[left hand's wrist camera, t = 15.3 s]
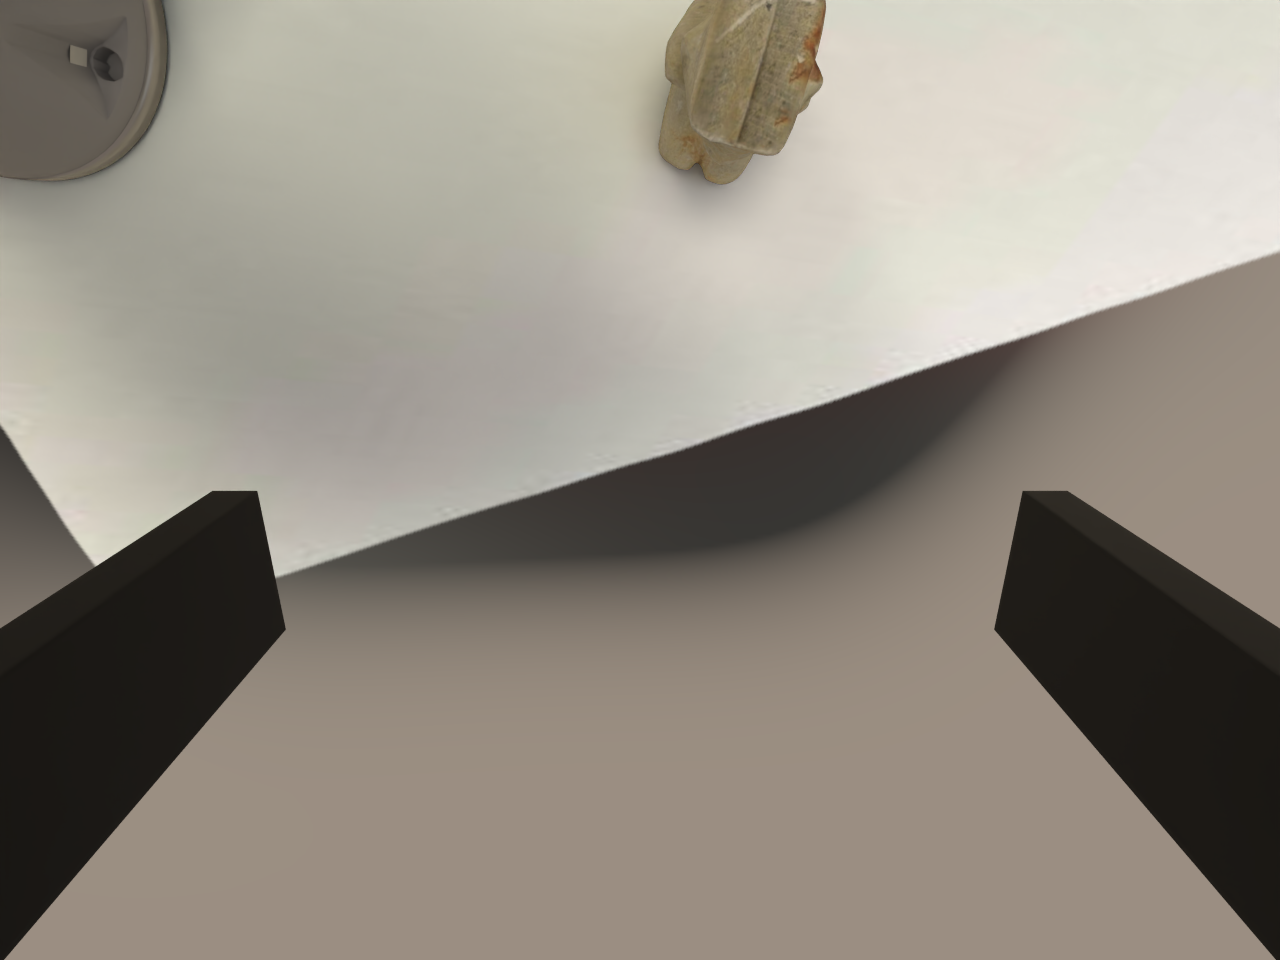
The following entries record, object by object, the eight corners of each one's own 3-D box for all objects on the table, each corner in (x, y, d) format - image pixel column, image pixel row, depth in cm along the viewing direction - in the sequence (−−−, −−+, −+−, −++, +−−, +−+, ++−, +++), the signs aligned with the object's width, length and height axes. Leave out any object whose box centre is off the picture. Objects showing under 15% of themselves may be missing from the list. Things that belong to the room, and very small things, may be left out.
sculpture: (637, 154, 36) (635, 117, 22) (689, -1, 34) (724, -152, 20) (741, 197, 37) (803, 187, 23) (799, 48, 35) (909, -65, 21)
